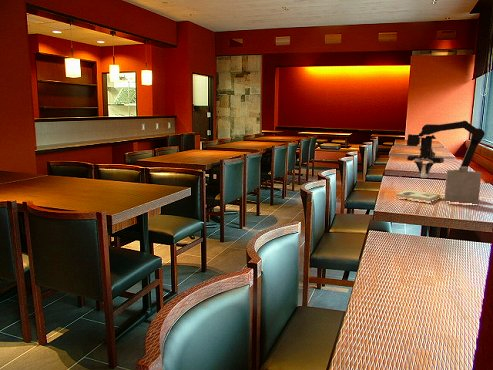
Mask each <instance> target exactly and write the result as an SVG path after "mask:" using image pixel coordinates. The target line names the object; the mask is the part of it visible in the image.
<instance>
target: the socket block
mask: <svg viewBox="0 0 493 370" xmlns="http://www.w3.org/2000/svg"><path fill="white" fill-rule="evenodd" d="M397 196H400V197H406V198H413V199H419V200H426V201H432V200H435V199H438V198H440V197H441V194H437V193H430V192H424V191H423V192H422V191H417V190H410V189H407V190H403V191H401V192H397V193H396V197H397Z"/></svg>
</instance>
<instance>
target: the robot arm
mask: <svg viewBox="0 0 493 370" xmlns="http://www.w3.org/2000/svg"><path fill="white" fill-rule="evenodd" d="M459 129H464V130H465V131H467V132H468V133H470V134H471V135H470V140H469V145H468V148H467V150H466V152H465V154H464V157H463V158H462V161H461V164H460V167H459V168H458V169H457V170H461V167H468V168H470V165H471V162H472V159H473V157H474V154H475V152H476V150H477V148H478V145H479V144H480V143H481V142H482V140H483V139H484V137H485V130H483V129H482V128H480V127H479V128H478V127H475V125H472V124H470V123H469V122H468V121H467V120H462V121H456V122H448V123H440V124H435V123H434V124H433V123H432V124H431V123H429V124H427V123H426V124H424V125H423V126H422V128H421V131H420V132H418V134H411V133H408V134H407V140H406V146H407V147H418V146H419V145H420V148H419V151H420V153H419V156H418V155H417V154H416V155H415V154H411V155H410V154H409V155H408V156H407V158H406V160H407V161H410V162H411V161H413V163H415V165H416V167H417V169H418V171H419V174H420V175H421V165H422V163H424V162H425V161H426V163H427V175H429V173H430V172H431V169H432V167H433V165H435V164H443V163H444V161H445V159H444V157H443V156H441V157H440V156H436V153H435V151H433V147H432V146H433V140H436V139H437V137H436V136H435V135H434V134H435V133H439V132H443V131H449V130H450V131H451V130H459ZM424 136H425V137H424Z"/></svg>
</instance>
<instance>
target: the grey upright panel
mask: <svg viewBox="0 0 493 370" xmlns="http://www.w3.org/2000/svg"><path fill="white" fill-rule="evenodd" d="M445 178H446V179H445V191H444V200H443V201H450V202H459V203H472V204H478V205H479V201H480V191H481V182H482V181H481V180H482V172H481V171H469V167H461V170H458V169H448V170H446V177H445Z"/></svg>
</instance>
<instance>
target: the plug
mask: <svg viewBox="0 0 493 370" xmlns="http://www.w3.org/2000/svg"><path fill="white" fill-rule="evenodd" d="M427 163H428V162H426V163H424V162H423V163H422V165H421V174H420V178H422V179H427V178H428V174H427Z"/></svg>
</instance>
